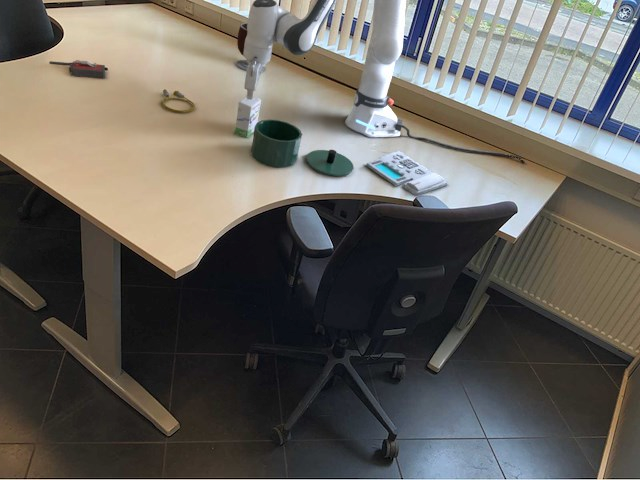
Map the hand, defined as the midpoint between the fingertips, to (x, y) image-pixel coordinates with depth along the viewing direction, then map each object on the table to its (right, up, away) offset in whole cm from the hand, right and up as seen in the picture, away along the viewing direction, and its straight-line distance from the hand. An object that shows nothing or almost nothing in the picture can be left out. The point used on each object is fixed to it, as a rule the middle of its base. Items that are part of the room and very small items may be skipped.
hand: (251, 93), depth 184 cm
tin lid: (+26, -23, +2) cm, 35 cm away
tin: (+8, -21, -1) cm, 23 cm away
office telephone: (+53, -27, +9) cm, 60 cm away
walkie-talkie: (-66, +12, +18) cm, 69 cm away
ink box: (-3, -11, +9) cm, 15 cm away
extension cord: (-29, 0, +15) cm, 32 cm away
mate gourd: (-8, +27, +59) cm, 65 cm away
